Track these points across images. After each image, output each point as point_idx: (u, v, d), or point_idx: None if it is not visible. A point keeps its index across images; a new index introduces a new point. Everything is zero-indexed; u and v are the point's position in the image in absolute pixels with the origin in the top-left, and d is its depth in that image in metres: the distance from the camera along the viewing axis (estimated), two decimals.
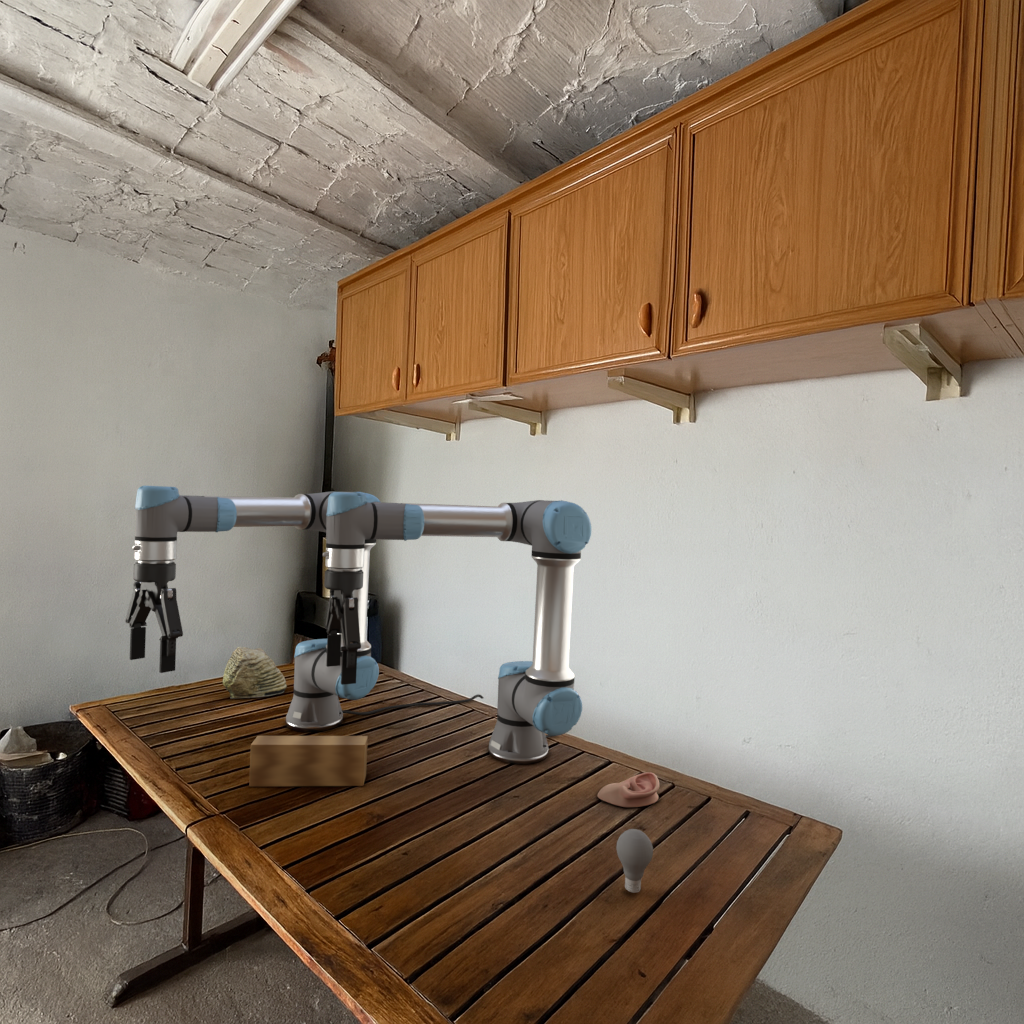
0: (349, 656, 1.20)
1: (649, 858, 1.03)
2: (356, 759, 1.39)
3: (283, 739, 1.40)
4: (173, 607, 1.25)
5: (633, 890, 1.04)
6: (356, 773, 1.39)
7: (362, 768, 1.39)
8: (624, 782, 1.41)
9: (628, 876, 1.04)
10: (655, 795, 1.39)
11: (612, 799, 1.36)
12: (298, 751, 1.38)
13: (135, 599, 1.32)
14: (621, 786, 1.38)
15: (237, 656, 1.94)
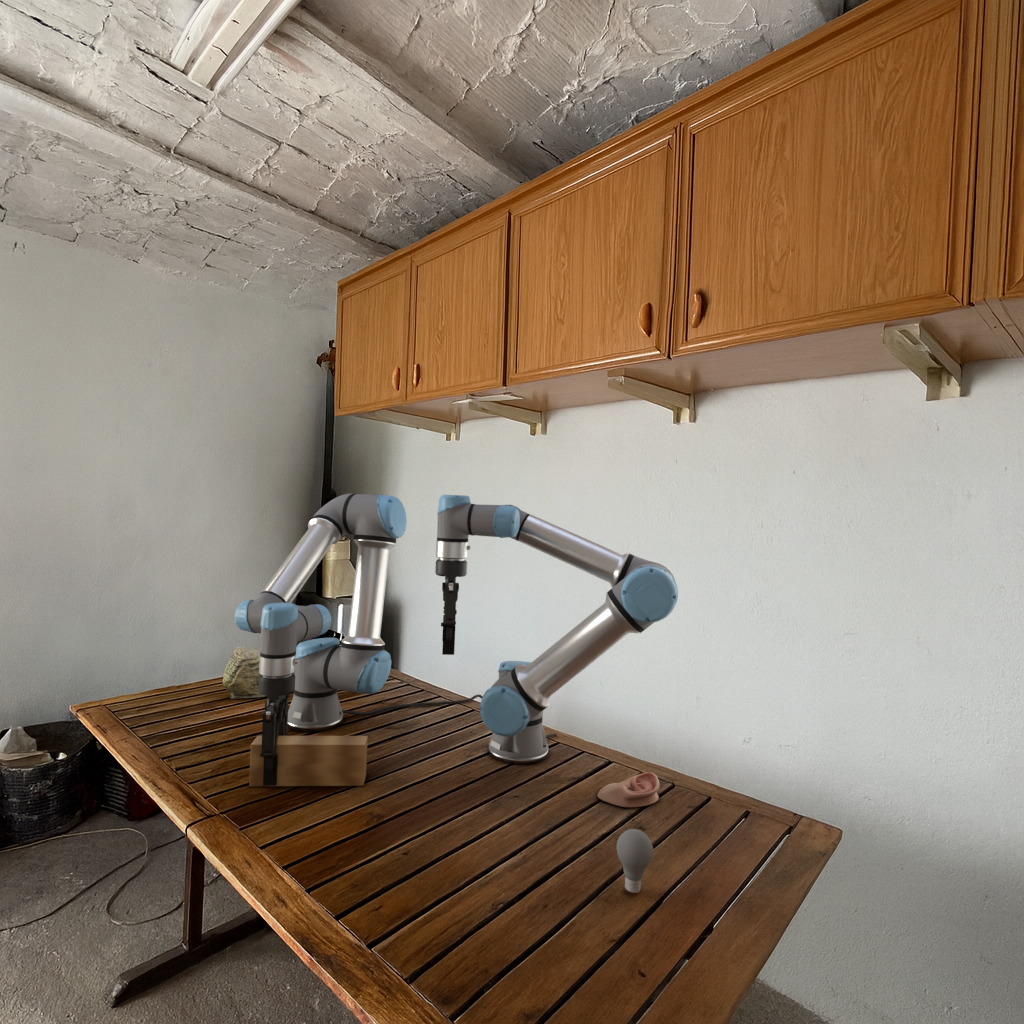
0: None
1: (649, 858, 1.03)
2: (356, 759, 1.39)
3: (283, 739, 1.40)
4: None
5: (633, 890, 1.04)
6: (356, 773, 1.39)
7: (362, 768, 1.40)
8: (624, 782, 1.41)
9: (628, 876, 1.04)
10: (655, 795, 1.39)
11: (612, 799, 1.36)
12: (298, 751, 1.38)
13: None
14: (621, 786, 1.38)
15: (237, 656, 1.94)
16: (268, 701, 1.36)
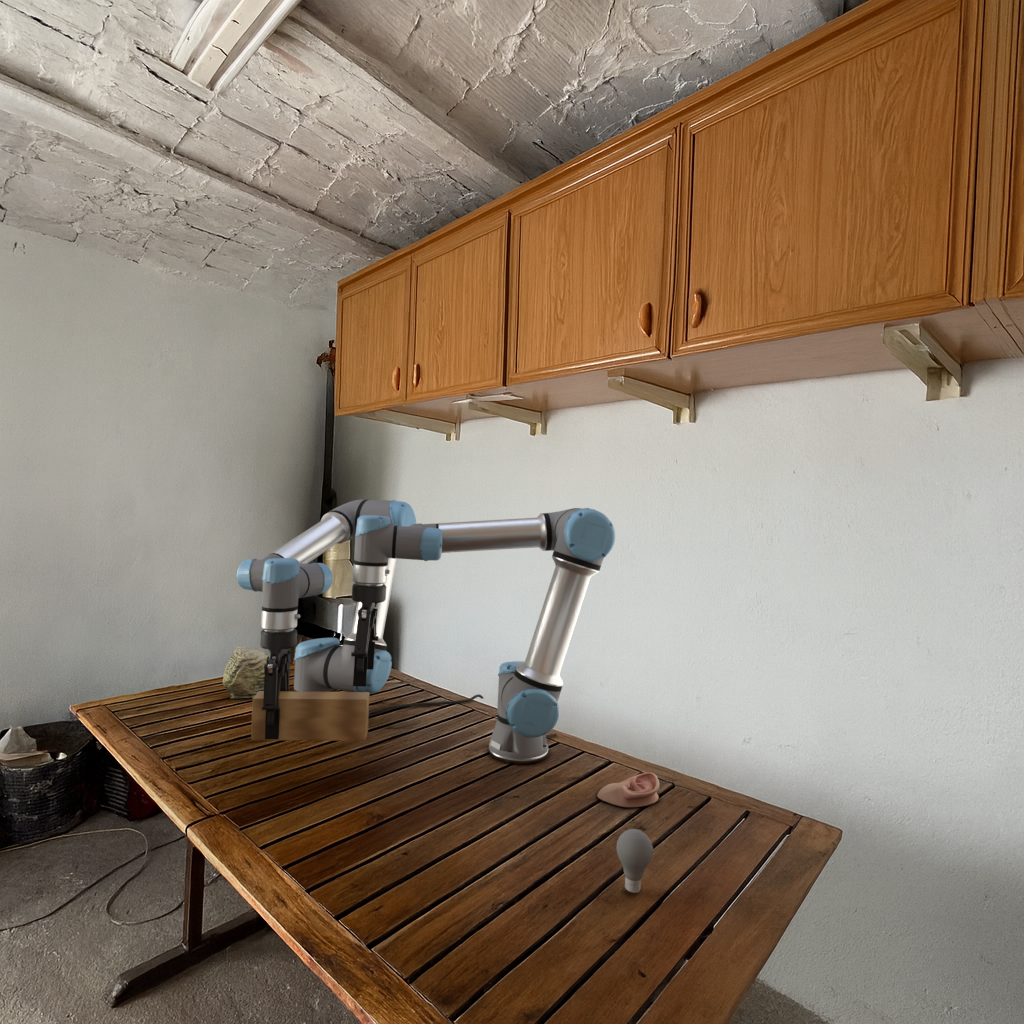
0: None
1: (649, 858, 1.03)
2: (357, 714, 1.39)
3: (284, 694, 1.40)
4: None
5: (633, 890, 1.04)
6: (358, 727, 1.39)
7: (364, 723, 1.39)
8: (624, 782, 1.41)
9: (628, 876, 1.04)
10: (655, 795, 1.39)
11: (612, 799, 1.36)
12: (300, 705, 1.38)
13: None
14: (621, 786, 1.38)
15: (237, 656, 1.94)
16: (270, 655, 1.36)
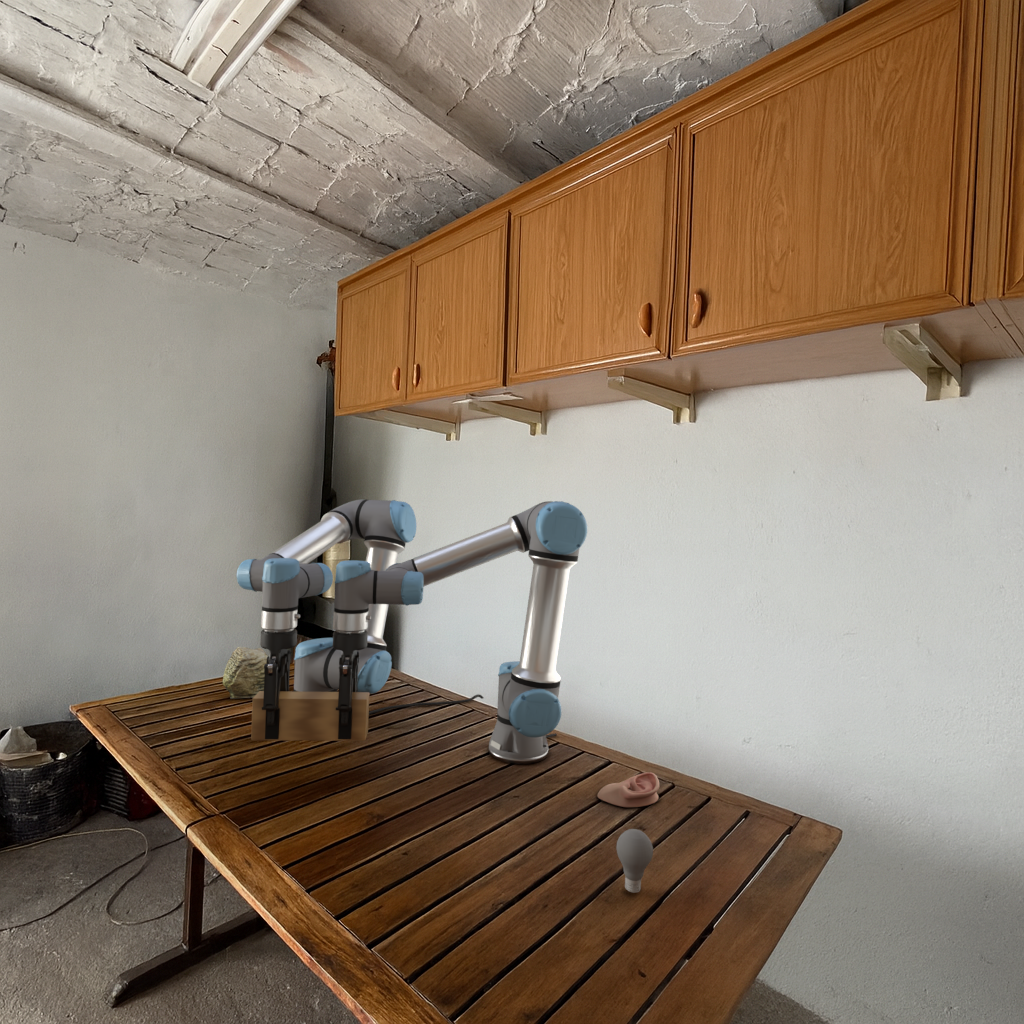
0: None
1: (649, 858, 1.03)
2: (357, 714, 1.39)
3: (285, 694, 1.40)
4: None
5: (633, 890, 1.04)
6: (358, 727, 1.39)
7: (364, 723, 1.39)
8: (624, 782, 1.41)
9: (628, 876, 1.04)
10: (655, 795, 1.39)
11: (612, 799, 1.36)
12: (300, 705, 1.38)
13: None
14: (621, 786, 1.38)
15: (237, 656, 1.94)
16: (270, 654, 1.36)
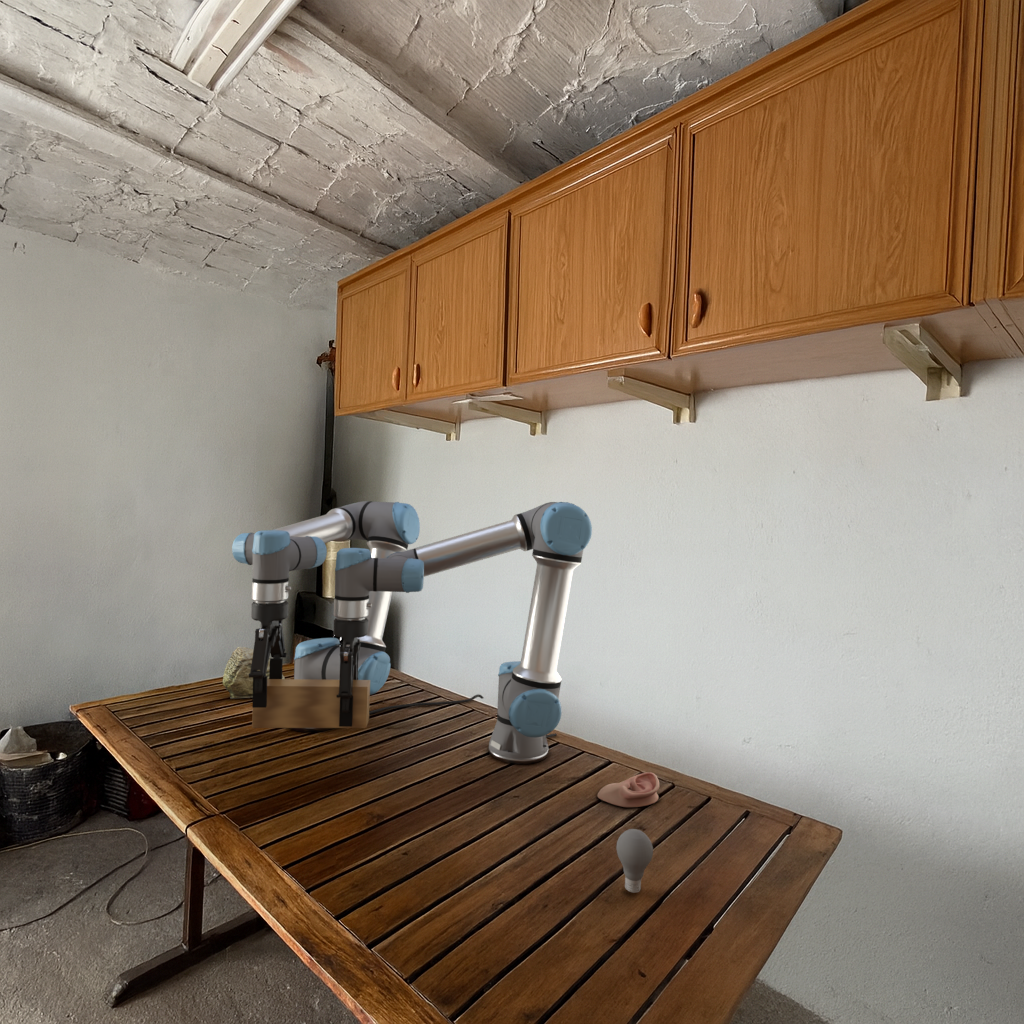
0: None
1: (649, 858, 1.03)
2: (358, 701, 1.39)
3: (285, 682, 1.40)
4: None
5: (633, 890, 1.04)
6: (359, 715, 1.39)
7: (365, 710, 1.39)
8: (624, 782, 1.41)
9: (628, 876, 1.04)
10: (655, 795, 1.39)
11: (612, 799, 1.36)
12: (301, 692, 1.38)
13: None
14: (621, 786, 1.38)
15: (237, 656, 1.94)
16: (261, 626, 1.35)
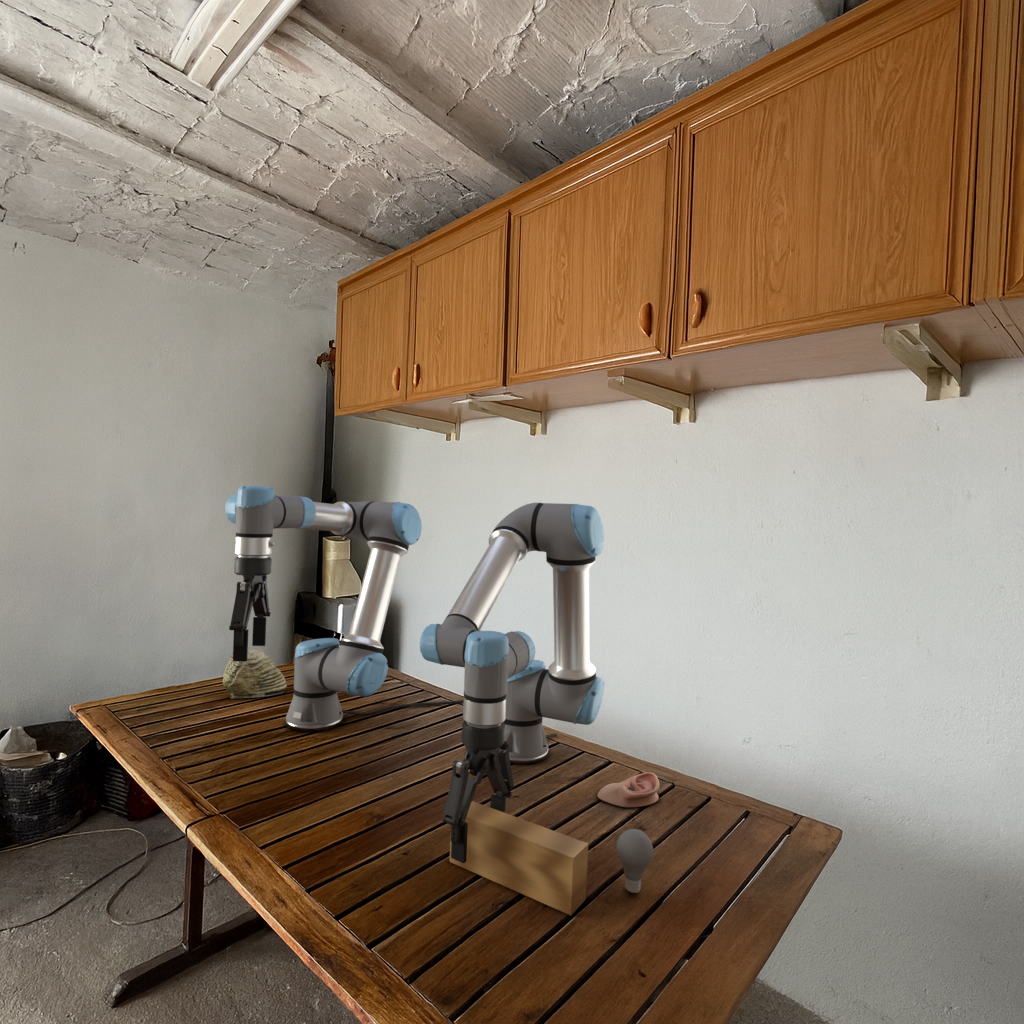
0: (452, 829, 1.06)
1: (649, 858, 1.03)
2: None
3: (547, 838, 1.04)
4: None
5: (633, 890, 1.04)
6: None
7: None
8: (624, 782, 1.41)
9: (628, 876, 1.04)
10: (655, 795, 1.39)
11: (612, 799, 1.36)
12: None
13: None
14: (621, 786, 1.38)
15: None
16: (243, 580, 1.35)
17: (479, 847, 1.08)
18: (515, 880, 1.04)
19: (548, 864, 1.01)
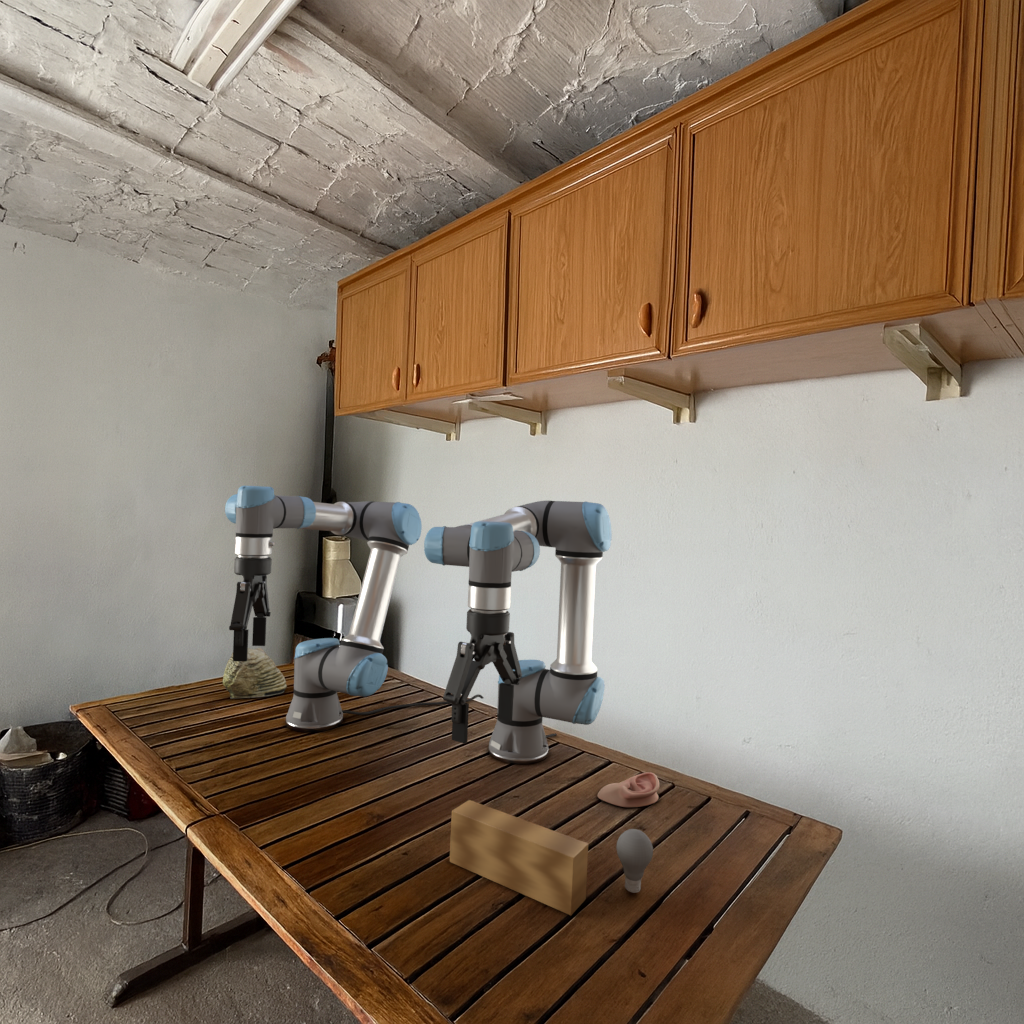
0: (453, 709, 1.04)
1: (649, 858, 1.03)
2: None
3: (547, 838, 1.04)
4: None
5: (633, 890, 1.04)
6: None
7: None
8: (624, 782, 1.41)
9: (628, 876, 1.04)
10: (655, 795, 1.39)
11: (612, 799, 1.36)
12: None
13: None
14: (621, 786, 1.38)
15: None
16: (243, 580, 1.35)
17: (479, 847, 1.08)
18: (515, 880, 1.04)
19: (548, 864, 1.01)
